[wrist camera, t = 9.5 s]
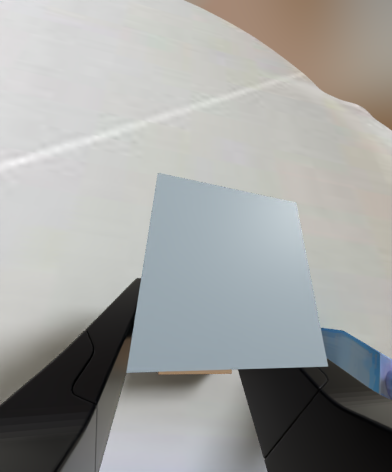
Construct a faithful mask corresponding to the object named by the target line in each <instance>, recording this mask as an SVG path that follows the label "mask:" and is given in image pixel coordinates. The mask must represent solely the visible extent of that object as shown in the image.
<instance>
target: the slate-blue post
mask: <svg viewBox="0 0 392 472" xmlns="http://www.w3.org/2000/svg"><path fill="white" fill-rule="evenodd" d="M327 366H328V363H327V358H326V353H325V348H324V342H323V337H322V332H321V327H320V322H319V317H318V312H317V306H316V301H315V296H314V291H313V286H312V281H311V276H310V271H309V265H308V260H307V255H306V250H305V245H304V240H303V235H302V230H301V224H300V219H299V214H298V209H297V204H296V202H291V201H287V200H282V199H277V198H273V197H268V196H263V195H259V194H254V193H249V192H245V191H240V190H236V189H231V188H226V187H222V186H217V185H212V184H208V183H203V182H198V181H194V180H189V179H184V178H180V177H175V176H171V175H166V174H161V173H158V175H157V182H156V188H155V194H154V201H153V207H152V213H151V220H150V226H149V232H148V239H147V245H146V252H145V258H144V264H143V271H142V277H141V283H140V290H139V296H138V302H137V309H136V315H135V321H134V328H133V334H132V340H131V347H130V353H129V359H128V366H127V372H126V373H133V372H165V371H198V370H230V369H263V368H295V367H327Z"/></svg>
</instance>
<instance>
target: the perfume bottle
mask: <svg viewBox="0 0 392 472" xmlns="http://www.w3.org/2000/svg"><path fill="white" fill-rule="evenodd" d="M321 332H322V337H323V342H324V348H325V353H326V358H328V359H329V360H330V361H332V362H333V363H335V364H336V365H337V366H339V367H340V368H342V369H343V370H345V371H346V372H347V373H349V374H350V375H352V376H353V377H354V378H356V379H357V380H359V381H360V382H362V383H363V384H364V385H366V386H367V387H369V388H370V389H372V390H373V391H375V392H377V393H379V394H380V395H382V396H384V397H386V398H388V399H391V400H392V359H390V358H389V357H387V356H385V355H384V354H382V353H380V352H379V351H377V350H375V349H373V348H372V347H370V346H368V345H367V344H365V343H363V342H362V341H360V340H358V339H357V338H355V337H353V336H351V335H350V334H348V333H346V332H345V331H341V330H334V329H326V328H321Z"/></svg>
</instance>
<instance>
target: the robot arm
mask: <svg viewBox="0 0 392 472" xmlns="http://www.w3.org/2000/svg"><path fill="white" fill-rule="evenodd" d="M140 283H141V278H137V279H135V280H134V281H133V282H132V283H131V284H130V285H129V286H128V287H127V288H126V289H125V290H124V291H123V292H122V293H121V294H120V295H119V296H118V297H117V298H116V299H115V301H114V302H113V303H112V304H111V305H110V306H109V307H108V308H107V309H106V310H105V311H104V312H103V313H102V314H101V315H100V316H99V317H98V318H97V319H96V320H95V321H94V322H93V323H92V324H91V325H90V326H89V327H88V328H87V329H86V331H84V332H83V333H82V334H81V335H80V336H79V337H78V338H77V339H76V340H75V341H74V342H72V343H71V344H70V345H69V346H68V347H67V348H66V349H65V350H64V351H63V352H62V353H61V354H60V355H59V356H57V357H56V358H55V359H54V360H53V361H52V362H50V363H49V364H48V365H47V366H46V367H45V368H44V369H42V370H41V371H40V372H39V373H38V374H36V375H35V376H34V377H33V378H32V379H31V380H29V381H28V382H27V383H26V384H25V385H23V386H22V387H21V388H20V389H19V390H17V391H16V392H15V393H14V394H13V395H11V396H10V397H9V398H8V399H7V400H6V401H4V402H3V403H2V404H1V405H0V472H99V469H100V466H101V462H102V459H103V455H104V451H105V448H106V444H107V441H108V437H109V433H110V430H111V426H112V423H113V419H114V415H115V412H116V408H117V405H118V401H119V397H120V394H121V390H122V387H123V383H124V379H125V376H126V372H127V366H128V359H129V353H130V347H131V340H132V334H133V328H134V321H135V315H136V309H137V302H138V296H139V290H140ZM327 363H328V366H327V367H295V368H263V369H238V371H239V375H240V378H241V381H242V385H243V388H244V392H245V395H246V399H247V402H248V405H249V409H250V412H251V416H252V419H253V422H254V426H255V429H256V433H257V436H258V440H259V443H260V446H261V450H262V453H263V457H264V459H265V464H266V468H267V471H268V472H392V400H391V399H388V398H386V397H384V396H382V395H380V394H379V393H377V392H375V391H373V390H372V389H370V388H369V387H367V386H366V385H364V384H363V383H362V382H360V381H359V380H357V379H356V378H354V377H353V376H352V375H350V374H349V373H347V372H346V371H345V370H343V369H342V368H340V367H339V366H337V365H336V364H335V363H333V362H332V361H330V360H329V359H328V358H327Z"/></svg>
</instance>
